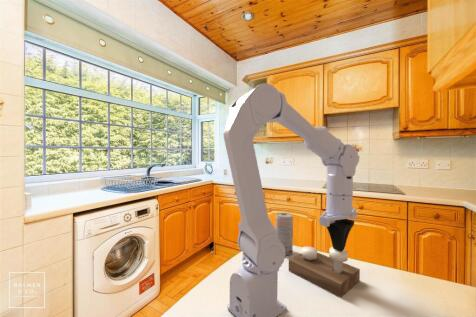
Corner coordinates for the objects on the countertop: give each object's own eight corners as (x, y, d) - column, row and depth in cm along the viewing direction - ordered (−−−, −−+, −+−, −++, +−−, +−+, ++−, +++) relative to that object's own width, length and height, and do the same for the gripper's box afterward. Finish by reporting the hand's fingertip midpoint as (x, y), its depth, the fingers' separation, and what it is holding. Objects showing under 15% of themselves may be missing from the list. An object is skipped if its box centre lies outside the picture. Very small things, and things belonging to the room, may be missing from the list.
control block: (340, 297, 47) (340, 284, 47) (288, 270, 58) (288, 259, 58) (359, 281, 53) (359, 269, 53) (309, 259, 64) (309, 249, 64)
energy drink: (291, 248, 71) (291, 212, 71) (293, 256, 66) (294, 217, 66) (274, 247, 72) (275, 212, 72) (276, 255, 67) (276, 216, 66)
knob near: (342, 278, 49) (342, 255, 49) (326, 270, 53) (326, 249, 52) (350, 272, 52) (350, 251, 52) (334, 265, 55) (334, 245, 55)
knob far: (311, 274, 56) (311, 254, 56) (298, 267, 59) (298, 249, 59) (319, 269, 58) (319, 250, 58) (306, 263, 61) (306, 245, 61)
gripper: (341, 200, 44) (340, 265, 44) (369, 192, 53) (368, 246, 54) (311, 195, 50) (310, 253, 50) (340, 189, 59) (340, 238, 59)
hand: (338, 249), depth 52 cm, fingers closed
